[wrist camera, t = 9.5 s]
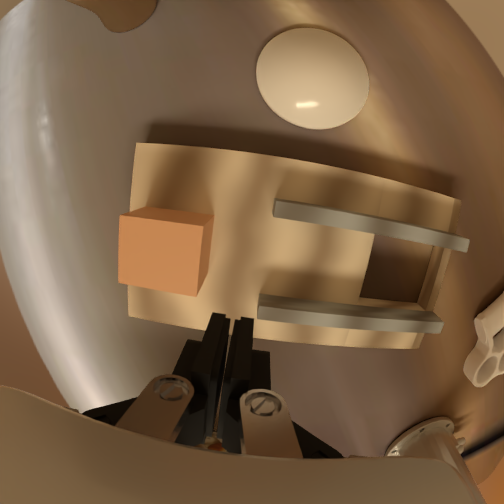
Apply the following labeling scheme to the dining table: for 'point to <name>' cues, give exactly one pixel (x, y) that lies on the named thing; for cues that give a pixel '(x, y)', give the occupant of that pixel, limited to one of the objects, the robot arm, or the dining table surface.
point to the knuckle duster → (487, 345)
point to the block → (165, 249)
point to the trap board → (294, 245)
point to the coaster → (312, 78)
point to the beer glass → (119, 12)
